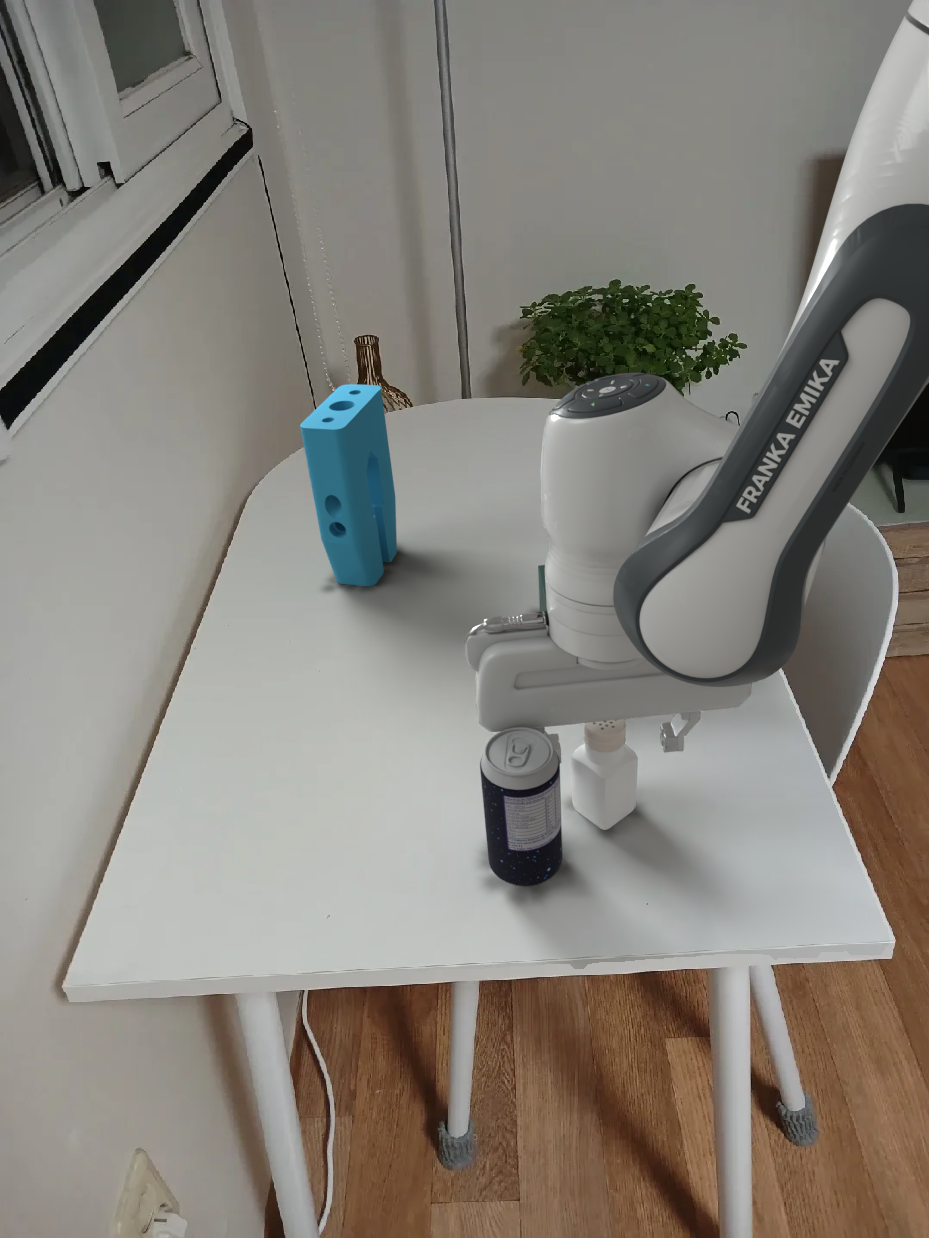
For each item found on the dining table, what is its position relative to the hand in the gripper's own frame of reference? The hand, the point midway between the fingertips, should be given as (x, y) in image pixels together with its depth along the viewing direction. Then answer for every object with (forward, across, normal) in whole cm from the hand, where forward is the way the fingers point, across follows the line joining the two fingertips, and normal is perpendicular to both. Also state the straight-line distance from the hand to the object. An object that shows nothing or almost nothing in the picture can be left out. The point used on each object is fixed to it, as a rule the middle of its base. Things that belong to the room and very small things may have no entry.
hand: (611, 752), depth 74 cm
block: (+6, -22, +42) cm, 48 cm away
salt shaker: (+6, -1, 0) cm, 7 cm away
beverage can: (+6, -8, -5) cm, 11 cm away
